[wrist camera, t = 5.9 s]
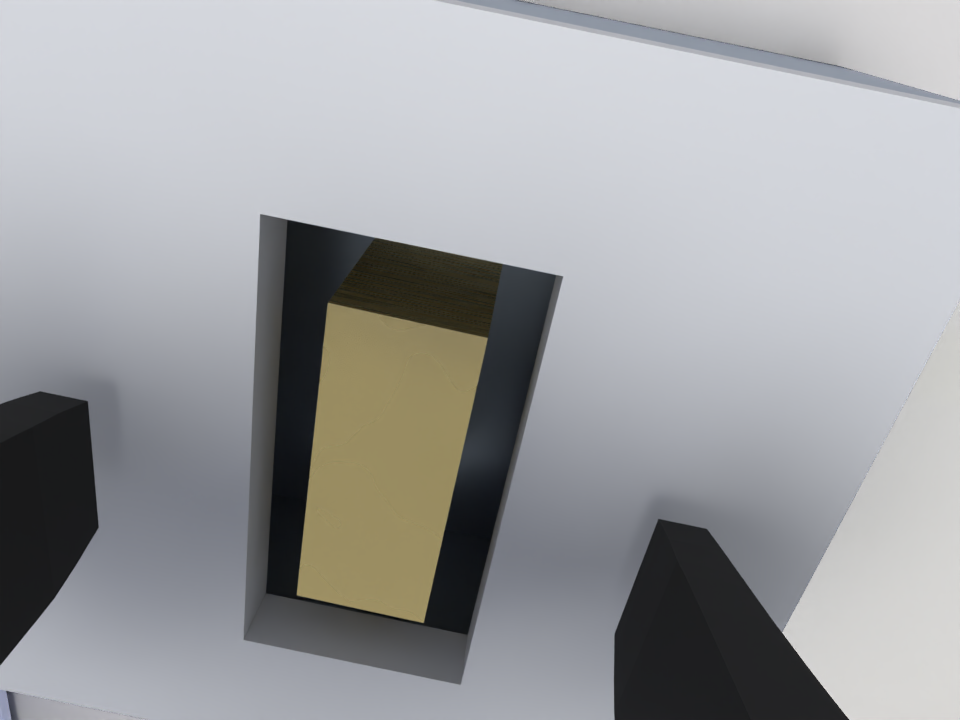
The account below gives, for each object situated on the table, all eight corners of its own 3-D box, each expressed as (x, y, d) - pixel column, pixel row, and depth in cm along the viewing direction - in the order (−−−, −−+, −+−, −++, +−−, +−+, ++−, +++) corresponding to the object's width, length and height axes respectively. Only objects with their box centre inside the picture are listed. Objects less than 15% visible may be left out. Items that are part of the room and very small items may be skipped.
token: (461, 442, 16) (423, 622, 11) (370, 422, 16) (296, 595, 11) (511, 221, 13) (488, 337, 9) (404, 196, 13) (327, 302, 9)
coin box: (641, 579, 18) (676, 829, 13) (165, 481, 18) (0, 689, 13) (840, 66, 12) (1052, 126, 7) (149, -76, 12) (-158, -121, 7)
